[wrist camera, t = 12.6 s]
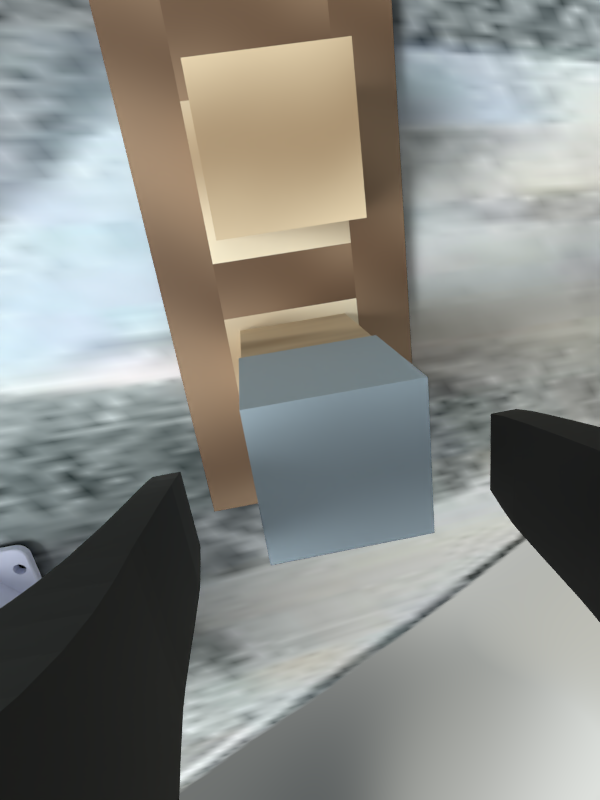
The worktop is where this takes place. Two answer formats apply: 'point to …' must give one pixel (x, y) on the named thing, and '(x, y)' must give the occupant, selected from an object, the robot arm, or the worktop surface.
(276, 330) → the pillar
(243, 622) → the worktop surface
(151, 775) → the robot arm
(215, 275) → the board
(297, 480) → the slate grey cube
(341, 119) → the tan wooden cube
